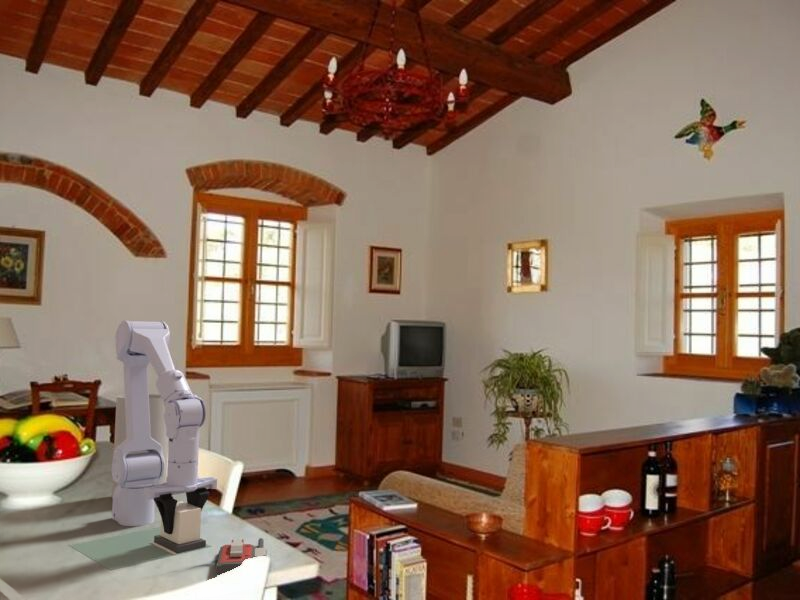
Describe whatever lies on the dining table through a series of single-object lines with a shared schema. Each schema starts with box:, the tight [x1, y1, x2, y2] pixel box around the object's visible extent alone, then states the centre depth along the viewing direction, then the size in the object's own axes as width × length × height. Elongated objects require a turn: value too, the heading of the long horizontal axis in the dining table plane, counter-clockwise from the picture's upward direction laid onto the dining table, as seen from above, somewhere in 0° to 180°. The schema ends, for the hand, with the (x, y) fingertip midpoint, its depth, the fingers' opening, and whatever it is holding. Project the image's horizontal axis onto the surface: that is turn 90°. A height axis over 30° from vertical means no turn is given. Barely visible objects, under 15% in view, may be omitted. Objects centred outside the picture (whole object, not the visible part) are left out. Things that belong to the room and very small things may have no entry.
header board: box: [68, 526, 212, 571], centre depth 139 cm, size 18×20×5 cm
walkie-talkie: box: [215, 537, 267, 576], centre depth 134 cm, size 9×4×20 cm
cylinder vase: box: [111, 393, 169, 500], centre depth 178 cm, size 12×12×25 cm
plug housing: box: [160, 501, 202, 544], centre depth 140 cm, size 7×4×6 cm, turn 46°
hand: (180, 530), depth 140 cm, fingers closed on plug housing, 4 cm apart
